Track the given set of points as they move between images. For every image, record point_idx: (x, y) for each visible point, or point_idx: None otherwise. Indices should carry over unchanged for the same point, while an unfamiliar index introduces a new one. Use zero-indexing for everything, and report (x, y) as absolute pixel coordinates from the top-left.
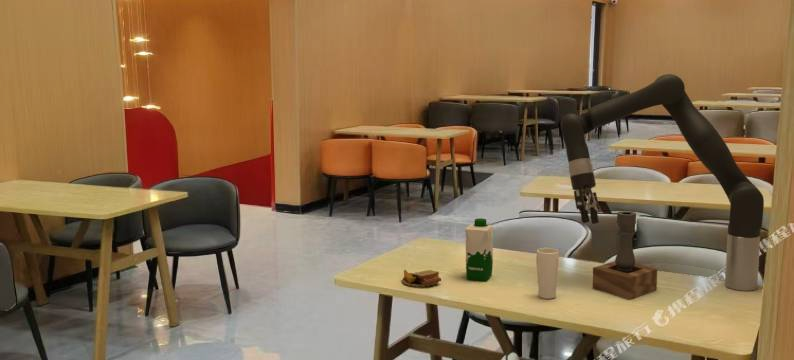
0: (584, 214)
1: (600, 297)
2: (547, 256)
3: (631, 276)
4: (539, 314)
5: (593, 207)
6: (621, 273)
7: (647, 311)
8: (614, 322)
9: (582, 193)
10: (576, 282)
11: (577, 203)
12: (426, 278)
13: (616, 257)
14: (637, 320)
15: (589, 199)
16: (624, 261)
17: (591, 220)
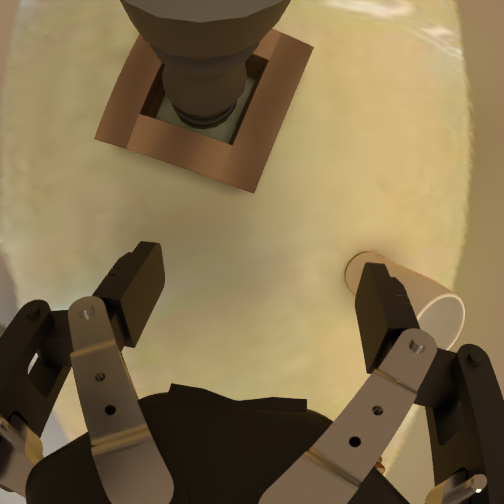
0: (411, 319)
1: (310, 143)
2: (459, 308)
3: (296, 45)
4: (456, 241)
5: (56, 358)
6: (277, 79)
7: (352, 23)
8: (441, 89)
9: (497, 488)
10: (208, 250)
11: (456, 426)
12: (379, 464)
13: (225, 103)
14: (412, 45)
15: (340, 431)
16: (245, 67)
17: (156, 300)
